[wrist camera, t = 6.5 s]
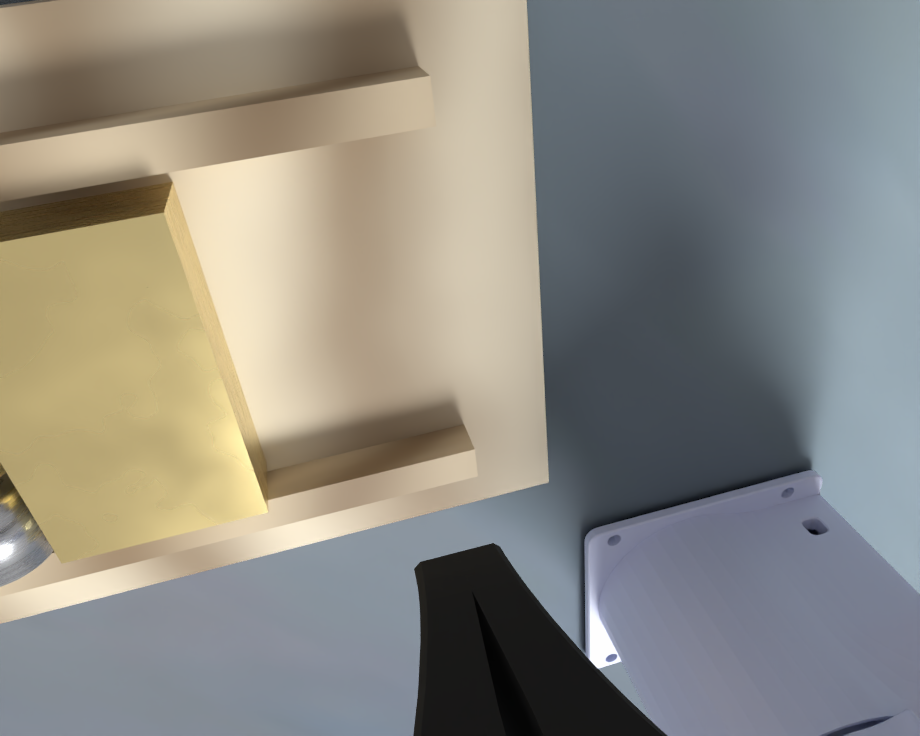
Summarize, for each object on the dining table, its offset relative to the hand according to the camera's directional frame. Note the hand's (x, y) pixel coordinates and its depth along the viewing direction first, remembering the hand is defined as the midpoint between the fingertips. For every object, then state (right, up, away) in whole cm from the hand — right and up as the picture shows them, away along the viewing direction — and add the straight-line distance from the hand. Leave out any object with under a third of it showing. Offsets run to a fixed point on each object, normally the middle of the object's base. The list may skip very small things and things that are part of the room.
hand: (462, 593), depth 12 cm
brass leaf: (-9, +4, +5) cm, 11 cm away
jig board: (-8, +4, +6) cm, 11 cm away
